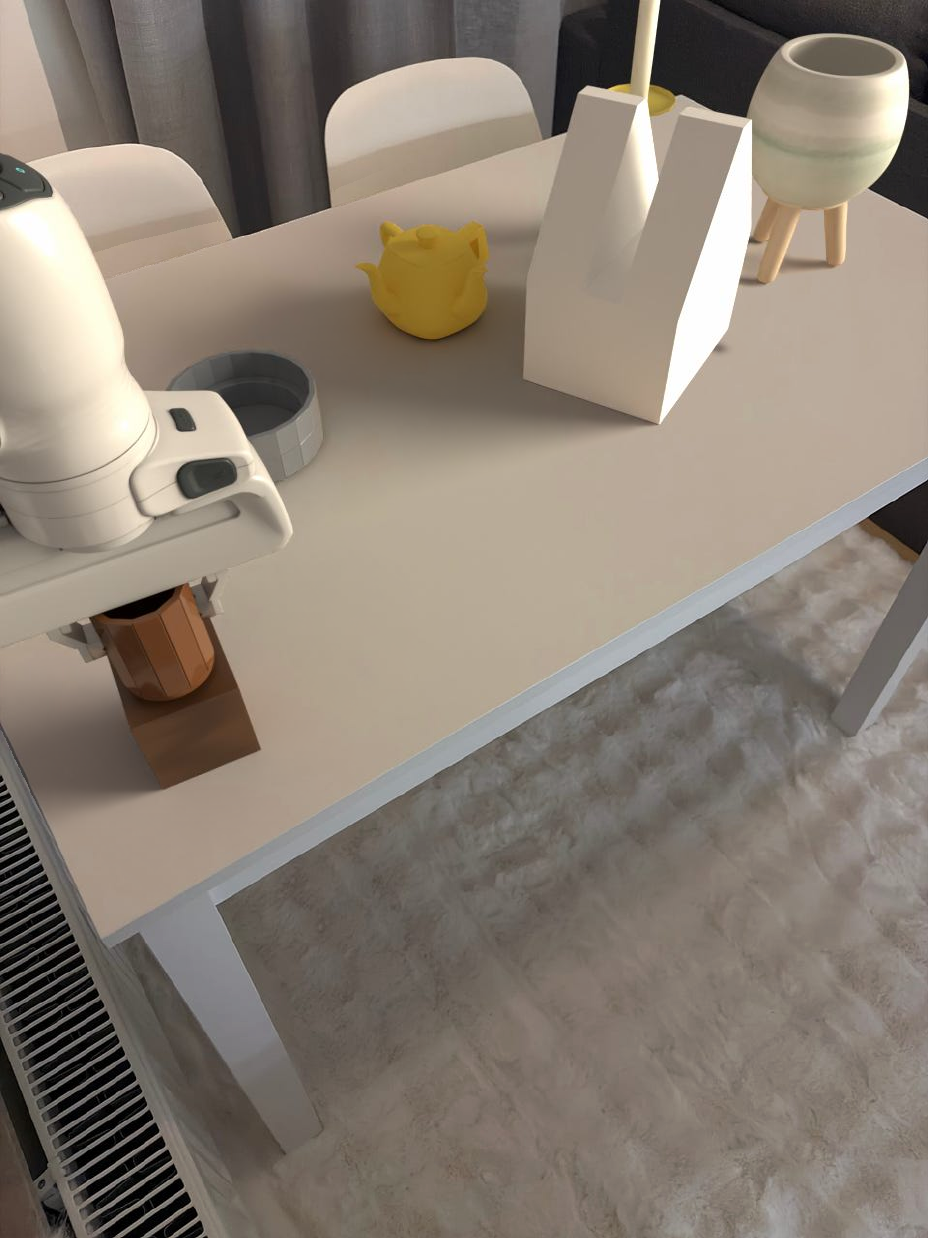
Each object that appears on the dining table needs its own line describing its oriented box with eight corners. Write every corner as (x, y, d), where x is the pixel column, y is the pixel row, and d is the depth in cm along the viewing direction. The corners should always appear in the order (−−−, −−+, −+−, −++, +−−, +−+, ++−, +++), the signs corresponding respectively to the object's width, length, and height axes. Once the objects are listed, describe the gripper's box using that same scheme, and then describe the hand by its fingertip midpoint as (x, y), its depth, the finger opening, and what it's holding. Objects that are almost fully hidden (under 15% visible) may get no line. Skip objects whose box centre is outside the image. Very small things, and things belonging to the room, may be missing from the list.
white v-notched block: (659, 424, 91) (705, 169, 72) (523, 378, 96) (532, 129, 77) (727, 328, 101) (784, 83, 82) (601, 291, 107) (627, 53, 87)
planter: (732, 219, 117) (774, 19, 100) (863, 240, 113) (930, 35, 96) (705, 283, 107) (747, 74, 90) (847, 308, 103) (919, 95, 86)
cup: (134, 715, 60) (93, 639, 54) (113, 648, 63) (73, 570, 57) (225, 679, 61) (196, 602, 55) (200, 617, 65) (170, 537, 59)
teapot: (363, 347, 100) (353, 262, 93) (382, 281, 109) (374, 198, 101) (488, 352, 99) (488, 267, 92) (497, 285, 108) (498, 202, 100)
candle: (677, 225, 116) (730, -91, 91) (633, 257, 111) (676, -67, 86) (612, 201, 120) (645, -106, 95) (567, 231, 116) (589, -85, 91)
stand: (163, 790, 66) (129, 729, 60) (138, 713, 70) (105, 650, 64) (261, 749, 68) (238, 687, 62) (231, 677, 72) (208, 612, 66)
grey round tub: (201, 510, 84) (185, 460, 80) (162, 424, 93) (145, 374, 88) (345, 463, 88) (337, 413, 84) (295, 384, 96) (285, 334, 92)
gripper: (-121, 573, 44) (-3, 728, 55) (279, 445, 50) (316, 609, 61) (-130, 494, 48) (-18, 654, 59) (244, 383, 54) (284, 548, 64)
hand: (154, 630), depth 60 cm, fingers closed on cup, 6 cm apart
